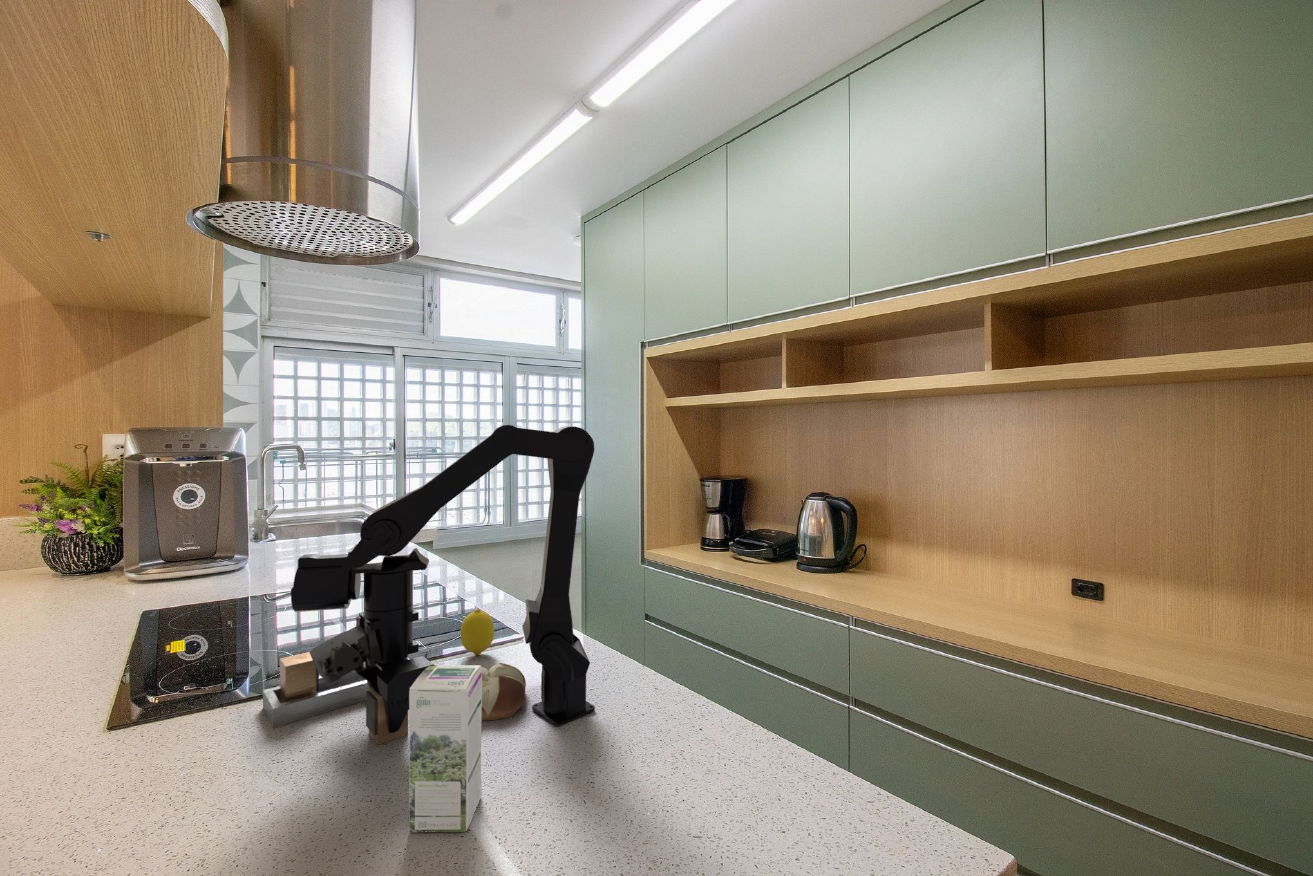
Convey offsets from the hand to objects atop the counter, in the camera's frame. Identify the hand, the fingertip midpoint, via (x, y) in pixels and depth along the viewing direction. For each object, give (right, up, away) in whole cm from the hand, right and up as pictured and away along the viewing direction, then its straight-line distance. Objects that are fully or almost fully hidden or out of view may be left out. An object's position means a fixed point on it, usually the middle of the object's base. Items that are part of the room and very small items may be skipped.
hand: (388, 725), depth 74 cm
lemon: (+4, -1, +25) cm, 26 cm away
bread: (+10, -1, +8) cm, 13 cm away
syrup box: (+13, -2, -15) cm, 20 cm away
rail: (-11, -1, +10) cm, 15 cm away
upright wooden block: (0, -1, 0) cm, 1 cm away
